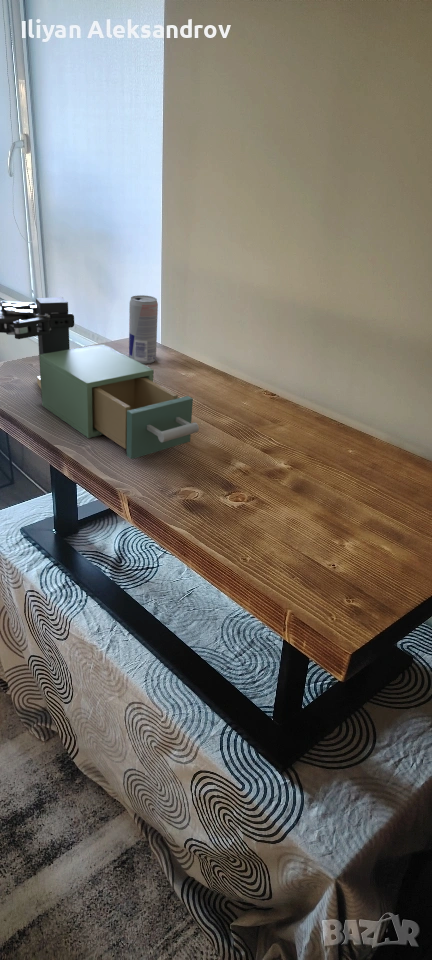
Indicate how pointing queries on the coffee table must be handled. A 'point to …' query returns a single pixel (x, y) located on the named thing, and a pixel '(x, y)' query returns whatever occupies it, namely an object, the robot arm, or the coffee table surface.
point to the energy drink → (143, 328)
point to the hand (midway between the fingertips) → (69, 316)
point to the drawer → (142, 416)
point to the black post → (57, 336)
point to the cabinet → (83, 381)
